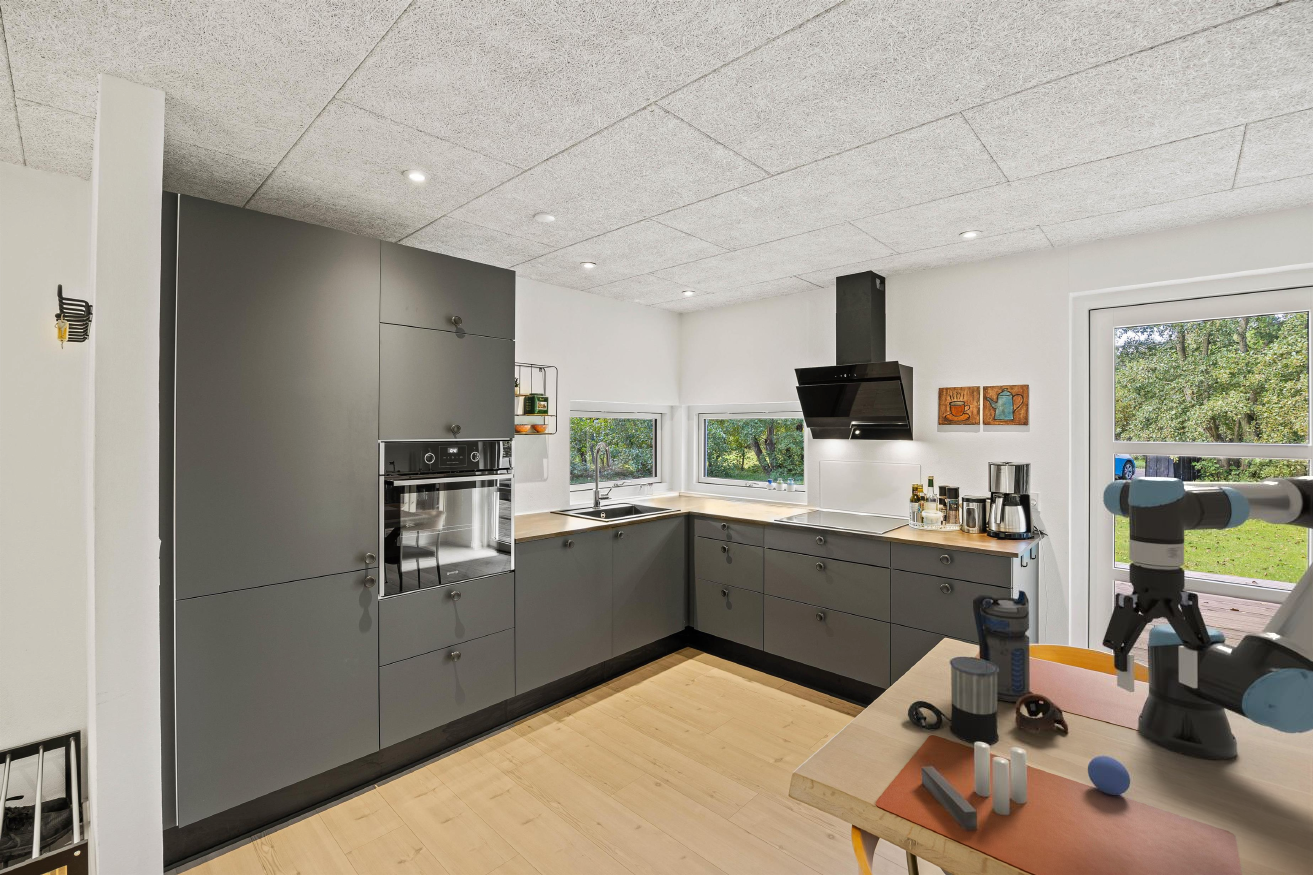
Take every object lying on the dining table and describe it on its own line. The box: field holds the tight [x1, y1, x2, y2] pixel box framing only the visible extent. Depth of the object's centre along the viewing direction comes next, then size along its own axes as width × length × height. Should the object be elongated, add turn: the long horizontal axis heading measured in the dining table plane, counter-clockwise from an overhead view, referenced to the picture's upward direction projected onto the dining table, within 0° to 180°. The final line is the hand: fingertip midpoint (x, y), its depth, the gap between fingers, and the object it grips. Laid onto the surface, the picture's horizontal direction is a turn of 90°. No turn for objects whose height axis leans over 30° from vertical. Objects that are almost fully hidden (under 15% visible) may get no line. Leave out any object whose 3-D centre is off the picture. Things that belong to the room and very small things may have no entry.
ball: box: [1087, 755, 1131, 796], centre depth 106 cm, size 6×6×6 cm
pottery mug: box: [1014, 690, 1069, 734], centre depth 129 cm, size 12×10×8 cm
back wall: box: [921, 765, 978, 832], centre depth 103 cm, size 2×13×3 cm, turn 5°
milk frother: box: [907, 656, 1000, 745], centre depth 128 cm, size 14×16×15 cm
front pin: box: [1009, 746, 1028, 805], centre depth 104 cm, size 2×2×8 cm
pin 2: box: [992, 756, 1011, 816], centre depth 101 cm, size 2×2×8 cm
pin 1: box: [973, 742, 991, 798], centre depth 106 cm, size 2×2×8 cm
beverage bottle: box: [972, 590, 1031, 703], centre depth 144 cm, size 10×13×25 cm
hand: (1156, 686), depth 106 cm, fingers open, 11 cm apart
